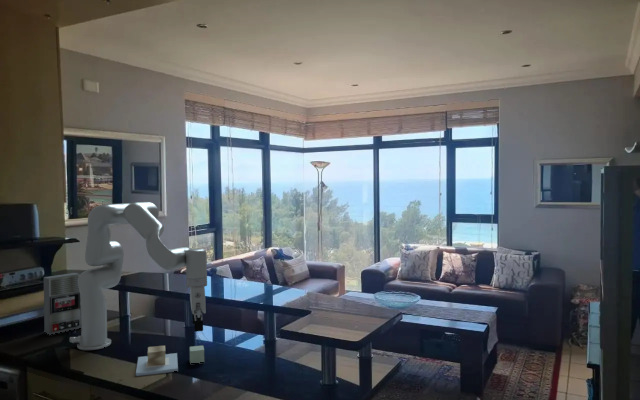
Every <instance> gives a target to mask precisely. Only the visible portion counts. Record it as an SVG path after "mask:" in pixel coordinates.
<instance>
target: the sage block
mask: <svg viewBox="0 0 640 400" xmlns="http://www.w3.org/2000/svg"><path fill="white" fill-rule="evenodd" d="M200 362H204V363H205V347H204V345H194V346H192V345H191V346H189V363H190V365H192V364H191V363H199V364H201V363H200Z"/></svg>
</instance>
